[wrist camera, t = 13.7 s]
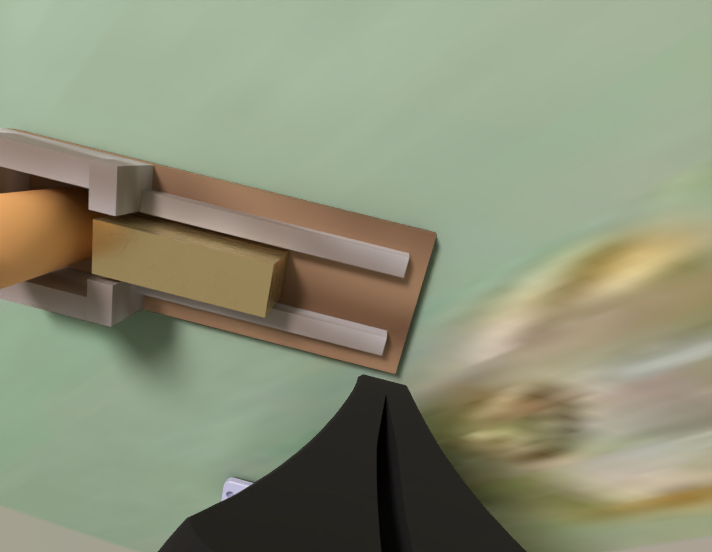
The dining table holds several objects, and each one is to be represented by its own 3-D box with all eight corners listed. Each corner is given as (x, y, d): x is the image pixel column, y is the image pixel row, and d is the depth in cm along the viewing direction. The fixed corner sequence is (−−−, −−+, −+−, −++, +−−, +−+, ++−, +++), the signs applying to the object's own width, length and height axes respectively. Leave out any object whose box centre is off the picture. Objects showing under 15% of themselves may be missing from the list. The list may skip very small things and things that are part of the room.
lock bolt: (280, 298, 20) (264, 317, 17) (128, 259, 20) (91, 273, 18) (289, 251, 19) (273, 264, 17) (130, 211, 19) (93, 218, 17)
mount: (395, 368, 21) (395, 402, 18) (21, 271, 22) (-39, 290, 19) (435, 232, 19) (442, 246, 16) (16, 129, 19) (-54, 124, 16)
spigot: (112, 264, 20) (-29, 319, 13) (46, 251, 20) (-125, 298, 14) (110, 193, 19) (-45, 215, 12) (40, 180, 19) (-149, 195, 13)
